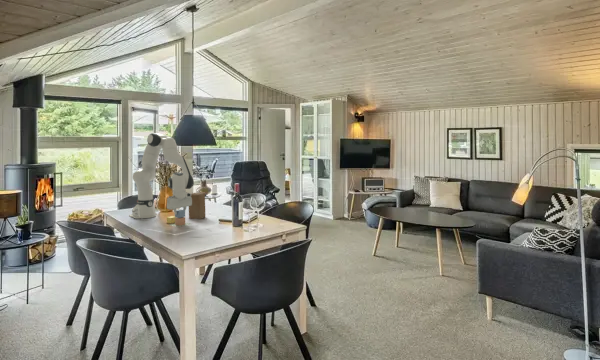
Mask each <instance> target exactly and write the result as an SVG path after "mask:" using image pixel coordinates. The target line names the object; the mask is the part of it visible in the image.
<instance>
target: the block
mask: <svg viewBox="0 0 600 360" xmlns="http://www.w3.org/2000/svg"><path fill="white" fill-rule="evenodd" d="M191 198H192V205H191V206H188V219H190V220H191V219H192V220H194V219H196V220H202V219H204V218H206V194H205V192H192V193H191Z"/></svg>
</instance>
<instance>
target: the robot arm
mask: <svg viewBox="0 0 600 360" xmlns="http://www.w3.org/2000/svg"><path fill="white" fill-rule="evenodd" d="M146 142H147V144H146V145H145V149H144V150H143V151H144V152H143V155H142V158H141V163H142V165H141V168H140V169H138V170H136V171H134V172H133V174H132V180H133V181H134V183H135V185H136V189H137V200H136V205H135V206H134V207H132V210H131V211H132V212H131V214H129V215H128V216H129V217H130V218H134V219H150V218H155V217H156V216H157V212H156V206H155V204H154V203H155V200H154V194H153V193H154V192H153V191H154V190H153V187H151V183H150V182H153V180H155V178H156V176H157V174H156V166H157V162H158V159H159V157H160V152H161V150H162V154H163V158H164V160H165V161H166V162H167V163H170V164H174V165H177V166H179V168H181V170H182V172H179V171H177V172H174V173H173V174H172V176H170V177H169V178H168V179H167V187H168V188H169V189H170V190H172V195H171V196H168V197H167V198H166V209H167V210H172V212H174V216H175V215H177V214H178V212H177V211H176V210H177V209H182V208H183V209H182V210H185V211H186V210H187V207H189V206H191V205H192V198H191V194H192V193H191V192H186V189H187V190H190V189H191V188H193V186H194V185H195V182H194V181H195V180H194V178H193V176H192V174H191V171H190V169H189V166H188V164H187V161H186V160H185V157H184V156H182V154H180V152H179V149H178V145H177V143H176V142H177V141H176V138H174V137H172V136H171V135H167V134H162V133H156V132H150V134H149V135H148V136H147V140H146Z"/></svg>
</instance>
